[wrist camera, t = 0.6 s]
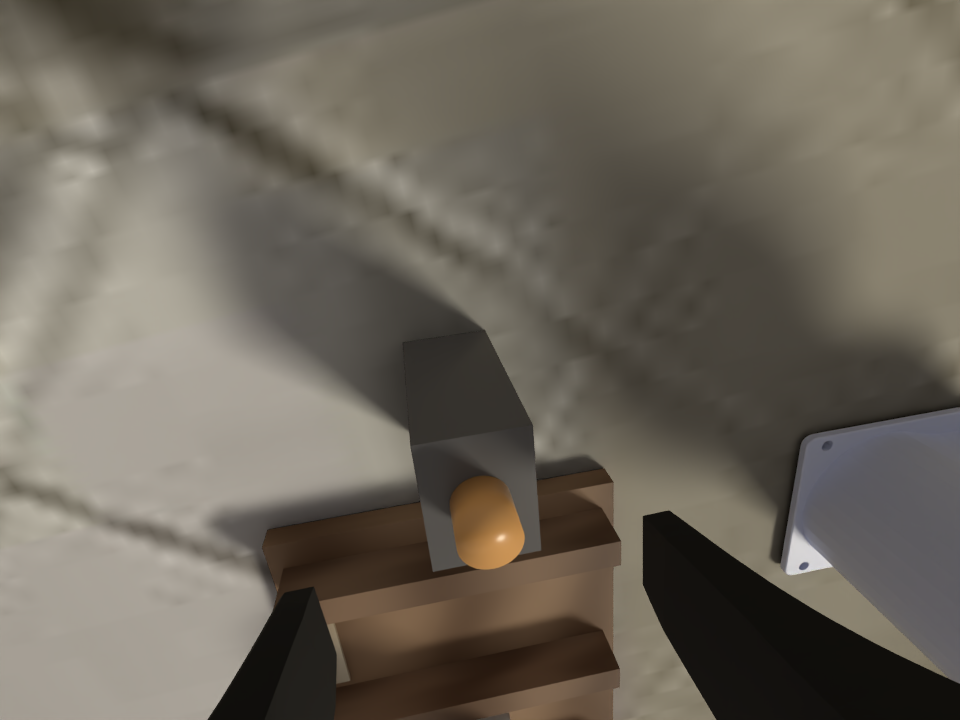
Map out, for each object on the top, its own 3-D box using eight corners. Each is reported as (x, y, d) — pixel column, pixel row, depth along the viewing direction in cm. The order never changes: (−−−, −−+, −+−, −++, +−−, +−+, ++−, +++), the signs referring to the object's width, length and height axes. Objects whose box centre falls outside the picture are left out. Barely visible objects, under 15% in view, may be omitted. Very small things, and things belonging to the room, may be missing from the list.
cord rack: (604, 468, 23) (634, 514, 20) (605, 733, 30) (627, 794, 27) (267, 529, 21) (249, 588, 18) (354, 793, 28) (351, 863, 26)
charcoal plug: (484, 330, 19) (549, 458, 12) (494, 424, 21) (557, 593, 13) (402, 342, 19) (413, 483, 11) (418, 437, 21) (437, 618, 13)
